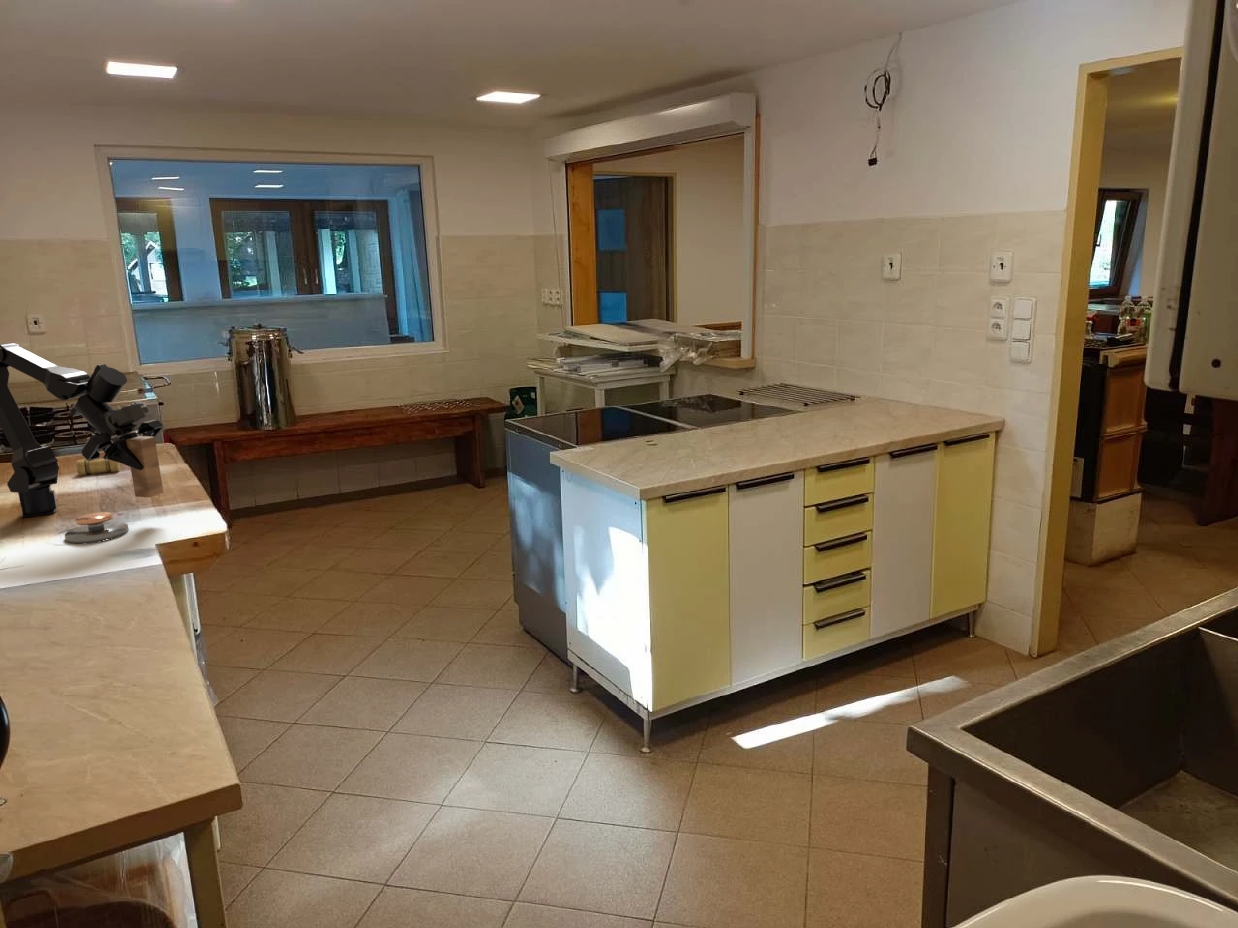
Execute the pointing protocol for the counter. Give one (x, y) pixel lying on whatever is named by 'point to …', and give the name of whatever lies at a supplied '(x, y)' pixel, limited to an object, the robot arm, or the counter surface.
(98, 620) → the counter surface
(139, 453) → the walnut stick
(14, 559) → the counter surface
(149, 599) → the counter surface
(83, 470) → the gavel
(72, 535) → the copper topped disc
